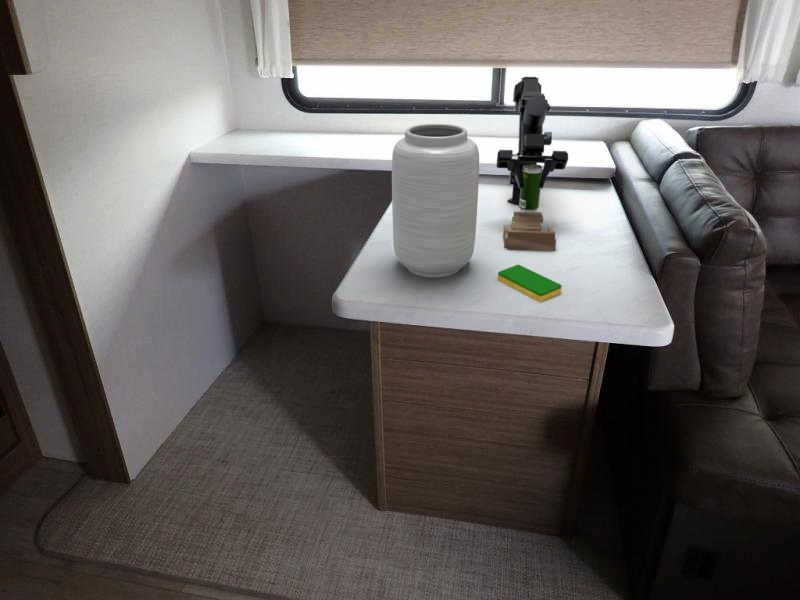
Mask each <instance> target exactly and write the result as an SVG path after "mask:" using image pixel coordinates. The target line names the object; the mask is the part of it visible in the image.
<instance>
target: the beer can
mask: <svg viewBox="0 0 800 600" xmlns="http://www.w3.org/2000/svg"><path fill="white" fill-rule="evenodd" d="M542 172H543V166H542V165H541V164H538V163H537V164H527V165H524V166H523V169H522V178H521V181H522V182H521V188H520V199H519V204H518V208H519V211H520V212H538V211H537V210H538V209H539V205H540V198H541V181H542Z"/></svg>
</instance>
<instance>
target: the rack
mask: <svg viewBox="0 0 800 600" xmlns="http://www.w3.org/2000/svg"><path fill="white" fill-rule="evenodd" d="M502 234H503V235H502V236H503V237H502V238H503V245H504V247H503V248H504V249H505V248H507V249H506V250H508V249H509V250H512V251H513V250H514V251H515V250H516V251H536V252H537V251H538V252H539V251H540V252H541V251H543V252H554V251H555V250H556V246H557V245H556V244H557V237H556V232H555V230H554V228H553V226H547V231H543V230H541V231H516V230H512V229H510V228H509V224H507V225H505V224H504V225H503V233H502Z"/></svg>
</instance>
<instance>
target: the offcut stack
mask: <svg viewBox="0 0 800 600" xmlns="http://www.w3.org/2000/svg"><path fill="white" fill-rule="evenodd" d="M543 223H544V215H543V212H542V211H535V212H524V211H513V216H512V217H511V226H510V227H511V228H510V229H511V230H516V231H542V226H541V224H543Z"/></svg>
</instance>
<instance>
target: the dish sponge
mask: <svg viewBox="0 0 800 600" xmlns="http://www.w3.org/2000/svg"><path fill="white" fill-rule="evenodd" d="M497 280H498V281H500V282H501V283H503V284H505V285H506V286H509V287H510V288H512V289H514V290H517V291H518V292H521V293H522V294H523V295H526V296H528V297H530V298H532V299H534V300H535V301H538V302H540V303H541V302H544V301H546V300H548V299H551V298H553V297H555V296H558V295H561V293H562V287H563V285H562V284H560V283H558V282H556V281H554V280H552V279H550V278H548V277H546V276H543V275H542V274H539V273H537V272H535V271H533V270H531V269H528V268H527V267H525V266H523V265H520V264H516V265H513V266H510V267H507V268H505V269H502V270H500V271H498V272H497Z"/></svg>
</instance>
